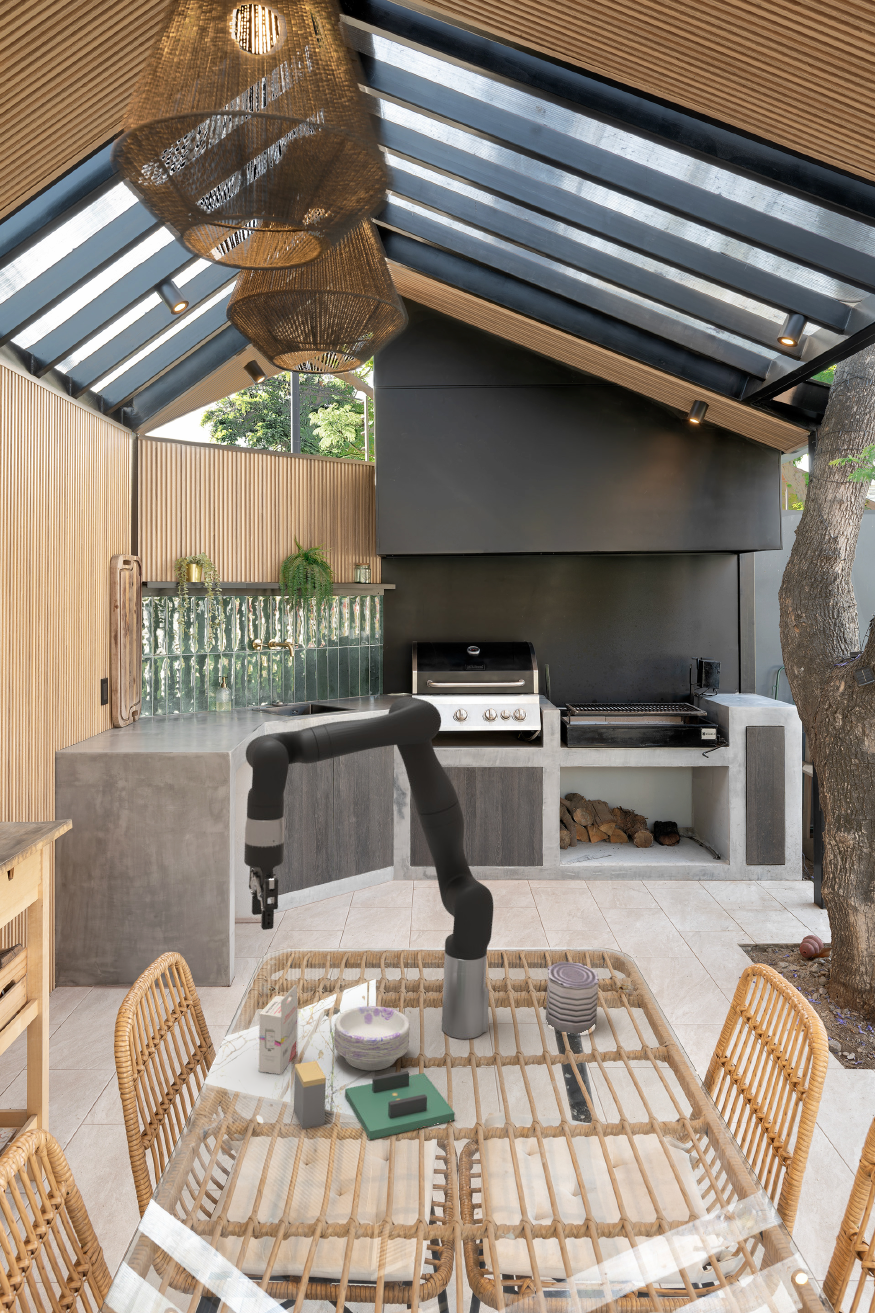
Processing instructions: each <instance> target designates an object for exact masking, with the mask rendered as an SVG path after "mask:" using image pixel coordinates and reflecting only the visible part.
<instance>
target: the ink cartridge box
mask: <svg viewBox="0 0 875 1313" xmlns="http://www.w3.org/2000/svg"><path fill="white" fill-rule="evenodd" d="M297 989H298V986H297V984H295V985H293V987H291V989H290V990H289V991H288V992H287V993H286V994H285V995H284V996H283V995H282V996H281V995H275V996H274V997H273V998H272V1000H271V1001H270V1002H269V1003H268V1004H267V1005H266V1006H265V1007H264V1008H263V1010H261V1011H260V1012H259V1023H258V1024H259V1027H258V1028H259V1029H258V1030H259V1031H258V1032H259V1033H258V1034H259V1035H258V1036H259V1037H258V1042H259V1043H258V1047H259V1048H258V1051H259V1052H258V1072H259V1071H260V1073H266V1072H269V1073H268V1074H273V1073H276V1075H282V1074H283V1072H284V1071H285V1070H286V1068H287V1067H288V1065H289V1064H290V1063H291V1061H292V1059H293V1058H294V1057H295V1056H296V1054H297V1038H298V1037H297V1035H298V1008H299V1006H298V1002H299V1001H298V1000H299V998H298V990H297ZM289 1062H290V1063H289ZM286 1066H287V1067H286ZM284 1069H285V1070H284ZM277 1073H278V1074H277ZM281 1073H282V1074H281Z"/></svg>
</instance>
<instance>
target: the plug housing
mask: <svg viewBox="0 0 875 1313" xmlns="http://www.w3.org/2000/svg"><path fill="white" fill-rule="evenodd" d="M326 1081H327V1077H326V1075H325V1074H324V1071H323V1070H322V1067H321V1066H320V1064H319V1062H318V1061H317V1060H313V1061H308V1062H301V1063H296V1064H294V1087H293V1088H294V1090H293V1112H294V1114H295V1116H296V1119H297V1121H298V1123H299V1125H300V1128H301V1129H302V1130H306V1129H309V1128H315V1127H319V1126H323V1125H325V1120H326V1119H325V1117H326V1116H325V1114H326V1113H325V1112H326V1091H327V1089H326V1084H327V1083H326Z"/></svg>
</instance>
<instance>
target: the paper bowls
mask: <svg viewBox="0 0 875 1313" xmlns="http://www.w3.org/2000/svg"><path fill="white" fill-rule="evenodd" d="M410 1026H411V1024H410V1020H409V1018H408V1017H407V1016H406V1015H405V1014H403V1012H400V1011H399V1010H396V1009H394V1008H389V1007H384V1006H375V1005H370V1006H365V1005H364V1006H358V1007H354V1008H351V1009H348V1010H345V1011H344V1012H341V1013H340V1014H339V1015H338V1016H337V1017H336V1018H335V1022H334V1030H333V1031H334V1033H333V1034H334V1036H333V1047H334V1049H335V1051H336V1052H337V1054H339V1055H340V1056H342V1057H344V1059H345V1061H346V1063H348V1064H349V1065H350V1066H351V1067H353V1068H355V1069H358V1070H361V1071H368V1072H371V1071H372V1072H375V1071H380V1070H384V1069H387V1068H389V1067H391V1066H392V1065H394V1064H395V1062H396V1061H397V1060H398V1059H399V1058H401V1057H403V1056H404V1055H405V1054H406V1053H407V1052H408V1051H409V1047H410V1033H411V1032H410V1030H411V1027H410Z"/></svg>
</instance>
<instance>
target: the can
mask: <svg viewBox="0 0 875 1313" xmlns="http://www.w3.org/2000/svg"><path fill="white" fill-rule="evenodd" d="M546 968H547V985H546V986H547V987H546V1006H545V1021H546V1020H547V1022H548V1025H551V1026H552V1027H554V1028H556V1029H557V1030H559V1031H561V1032H567V1033H574V1034H578V1033H582V1032H584V1031H586V1030H589V1029H590V1028H591V1027H592V1026H593V1025H594V1024H595V1023H596V1024H597V1014H598V994H599V993H598V992H599V983H600V978H599V976H598V972H597V970H594V969H592V968H590V967H588V966H586V965H585V964H583V963H580V962H569V961H560V960H559V961H557V962H556V963H553V964H551V965H549V966H547V967H546ZM547 1022H546V1023H547ZM548 1025H547V1026H548Z"/></svg>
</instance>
